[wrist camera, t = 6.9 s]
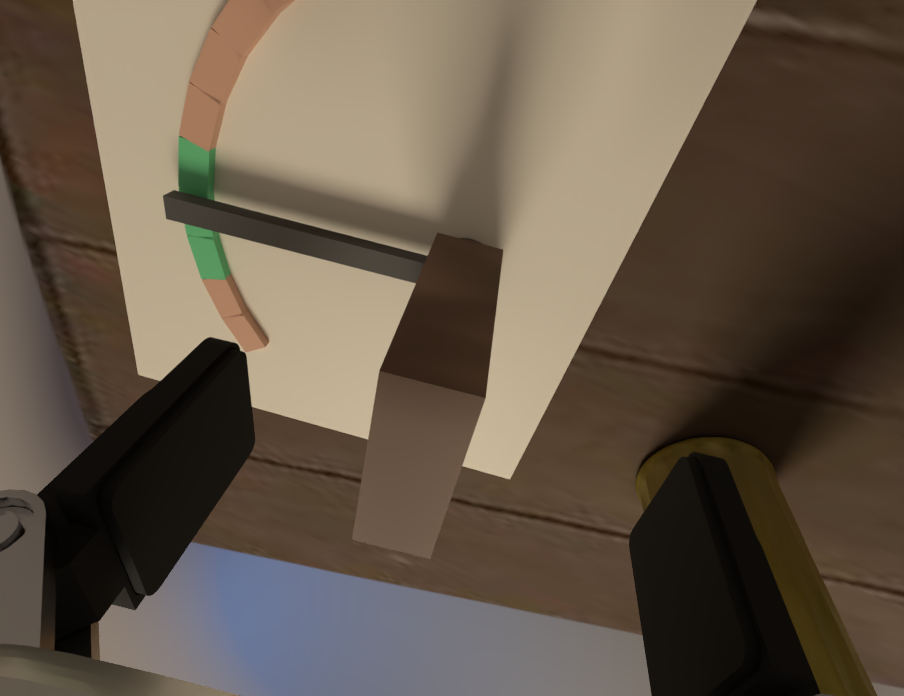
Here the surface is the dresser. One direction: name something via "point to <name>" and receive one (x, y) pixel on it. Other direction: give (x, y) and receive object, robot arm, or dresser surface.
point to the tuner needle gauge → (400, 363)
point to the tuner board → (388, 174)
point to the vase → (777, 557)
